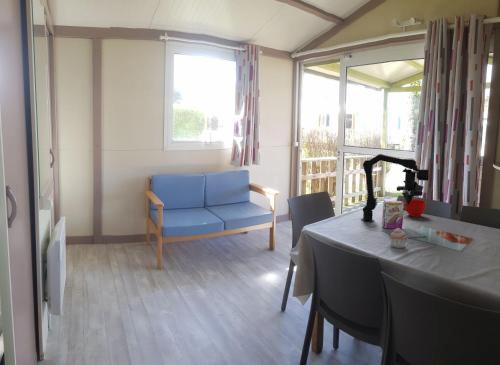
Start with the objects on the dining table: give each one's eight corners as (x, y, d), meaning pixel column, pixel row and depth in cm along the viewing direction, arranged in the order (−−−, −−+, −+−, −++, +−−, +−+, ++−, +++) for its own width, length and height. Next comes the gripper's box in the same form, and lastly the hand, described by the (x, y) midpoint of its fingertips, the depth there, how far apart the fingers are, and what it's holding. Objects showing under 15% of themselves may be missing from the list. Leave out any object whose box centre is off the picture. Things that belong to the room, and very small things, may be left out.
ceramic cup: (395, 213, 271) (396, 199, 269) (418, 213, 273) (419, 199, 271) (404, 218, 258) (405, 203, 257) (428, 217, 260) (429, 203, 259)
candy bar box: (383, 228, 234) (385, 202, 231) (381, 226, 239) (383, 200, 236) (402, 229, 233) (404, 202, 230) (400, 227, 237) (402, 200, 235)
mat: (381, 230, 230) (381, 229, 230) (409, 229, 233) (409, 228, 233) (397, 238, 214) (397, 237, 214) (426, 236, 218) (426, 236, 218)
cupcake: (411, 248, 198) (412, 229, 197) (395, 250, 196) (397, 231, 194) (399, 243, 207) (400, 224, 206) (384, 244, 205) (385, 226, 203)
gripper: (431, 181, 231) (429, 207, 234) (412, 177, 249) (410, 200, 252) (414, 182, 229) (412, 208, 231) (396, 177, 247) (395, 201, 249)
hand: (408, 204), depth 241 cm, fingers closed
